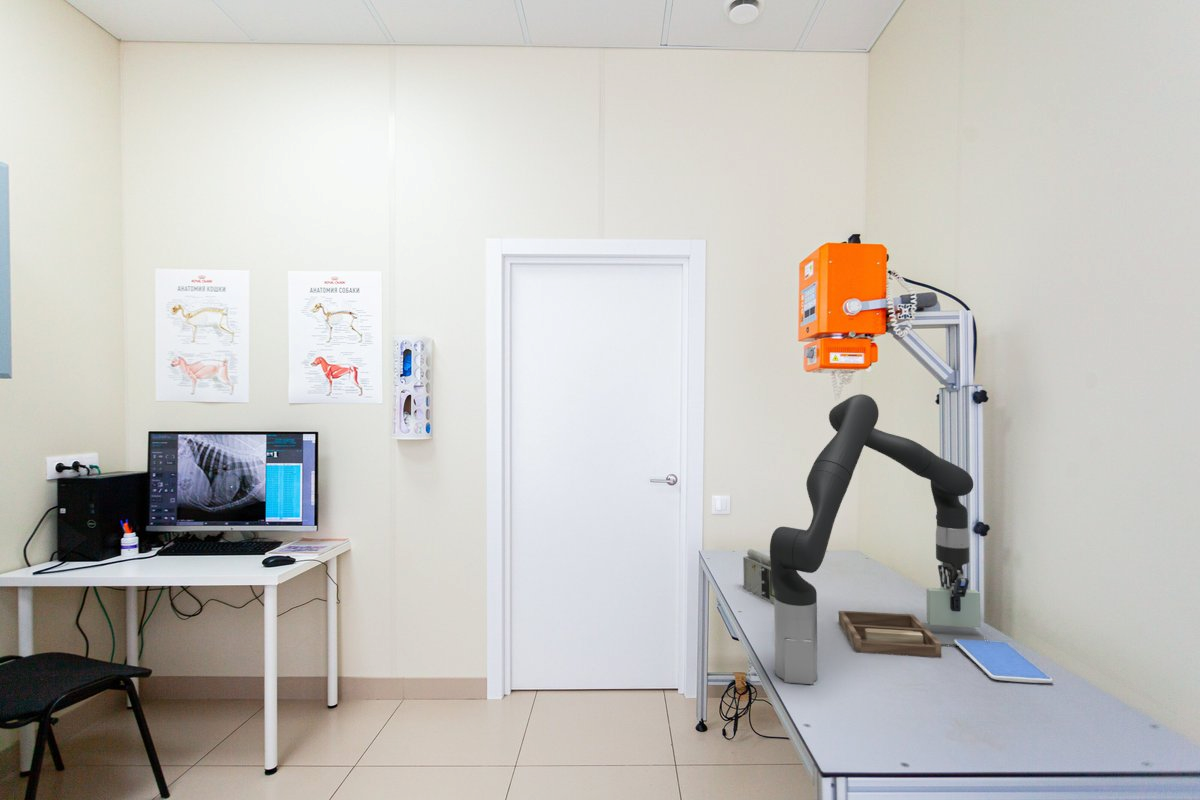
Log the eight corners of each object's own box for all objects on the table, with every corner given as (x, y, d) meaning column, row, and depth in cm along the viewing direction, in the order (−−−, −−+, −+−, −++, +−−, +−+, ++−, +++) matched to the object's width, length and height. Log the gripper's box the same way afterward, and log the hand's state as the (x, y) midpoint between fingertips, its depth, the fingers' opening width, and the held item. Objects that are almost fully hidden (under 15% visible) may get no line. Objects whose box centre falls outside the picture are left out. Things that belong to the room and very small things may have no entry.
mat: (996, 649, 142) (996, 647, 142) (935, 645, 145) (935, 643, 145) (970, 627, 156) (970, 625, 156) (915, 624, 159) (915, 622, 159)
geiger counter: (739, 547, 190) (789, 567, 167) (755, 545, 192) (807, 564, 169) (740, 589, 190) (790, 615, 167) (756, 586, 192) (807, 611, 169)
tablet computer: (952, 642, 145) (952, 637, 145) (1006, 645, 143) (1006, 640, 143) (992, 682, 126) (992, 676, 126) (1055, 686, 124) (1055, 680, 124)
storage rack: (941, 657, 138) (941, 643, 138) (855, 652, 142) (855, 638, 142) (913, 627, 157) (913, 614, 157) (838, 622, 160) (838, 610, 160)
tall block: (980, 627, 148) (980, 592, 148) (930, 624, 151) (929, 590, 151) (976, 624, 151) (975, 589, 151) (926, 621, 153) (926, 587, 153)
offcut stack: (923, 653, 141) (923, 635, 141) (867, 649, 143) (866, 631, 143) (917, 646, 145) (917, 628, 145) (862, 642, 147) (862, 625, 147)
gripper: (980, 550, 143) (981, 619, 143) (956, 537, 157) (957, 600, 157) (947, 549, 145) (948, 617, 145) (926, 536, 158) (927, 599, 158)
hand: (953, 608), depth 151 cm, fingers closed on tall block, 2 cm apart
